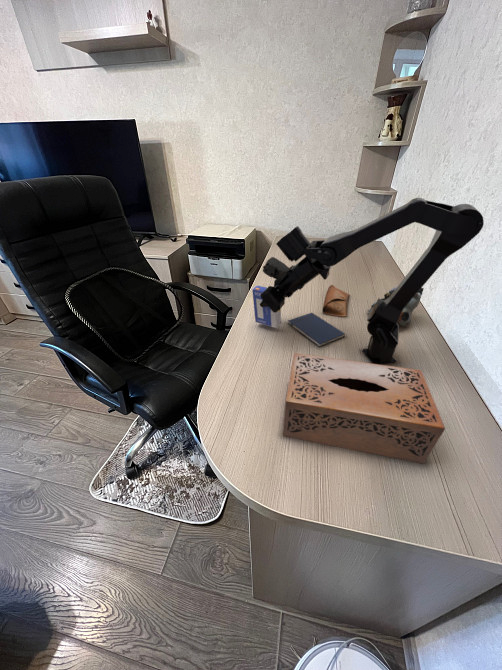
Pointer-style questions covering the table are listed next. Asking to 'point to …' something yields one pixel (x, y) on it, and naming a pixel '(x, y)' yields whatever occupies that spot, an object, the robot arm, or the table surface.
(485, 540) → the table surface
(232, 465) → the table surface
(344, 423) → the tissue box cover
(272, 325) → the walkman
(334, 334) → the notebook
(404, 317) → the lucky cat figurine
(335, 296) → the sunglasses case
